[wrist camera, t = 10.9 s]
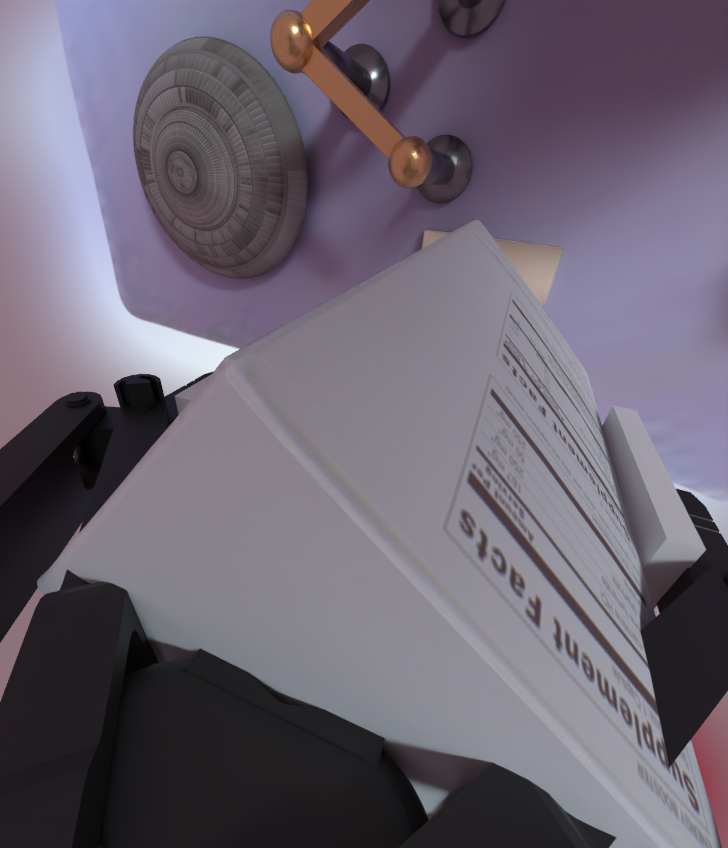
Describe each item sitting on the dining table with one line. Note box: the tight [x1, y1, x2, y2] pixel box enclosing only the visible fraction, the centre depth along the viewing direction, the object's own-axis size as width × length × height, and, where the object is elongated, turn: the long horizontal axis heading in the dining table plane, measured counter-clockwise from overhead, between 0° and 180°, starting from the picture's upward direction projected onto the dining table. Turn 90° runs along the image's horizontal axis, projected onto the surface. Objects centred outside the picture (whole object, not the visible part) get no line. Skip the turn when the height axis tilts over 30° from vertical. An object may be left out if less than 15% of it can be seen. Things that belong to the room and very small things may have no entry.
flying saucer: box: [133, 37, 308, 278], centre depth 28 cm, size 15×15×6 cm
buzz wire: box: [270, 0, 505, 203], centre depth 19 cm, size 12×10×10 cm
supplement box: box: [37, 220, 722, 848], centre depth 13 cm, size 10×9×17 cm
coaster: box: [422, 229, 564, 308], centre depth 28 cm, size 9×9×1 cm
